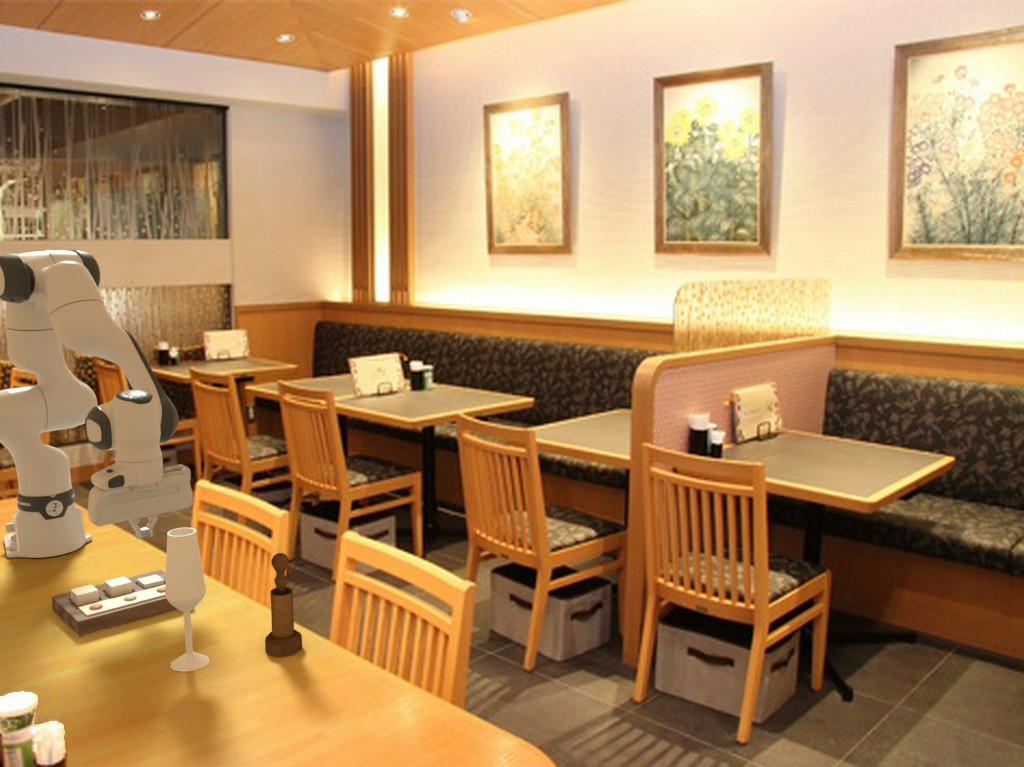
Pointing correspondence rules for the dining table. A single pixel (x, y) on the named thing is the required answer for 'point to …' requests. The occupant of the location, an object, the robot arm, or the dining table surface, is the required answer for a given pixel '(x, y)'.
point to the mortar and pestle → (282, 614)
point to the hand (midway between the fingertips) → (144, 537)
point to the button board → (113, 617)
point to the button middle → (118, 587)
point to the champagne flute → (185, 589)
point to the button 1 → (84, 595)
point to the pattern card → (123, 601)
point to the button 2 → (150, 581)
